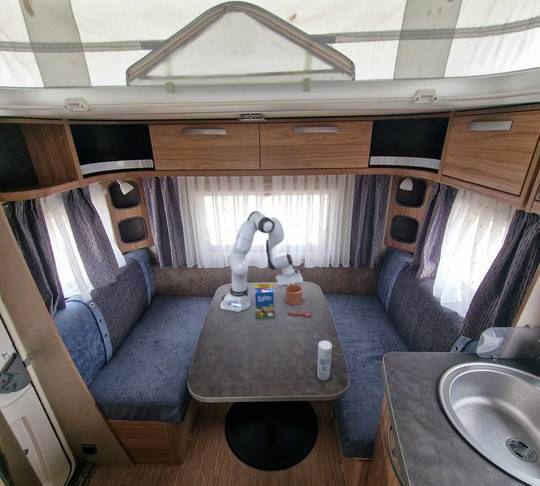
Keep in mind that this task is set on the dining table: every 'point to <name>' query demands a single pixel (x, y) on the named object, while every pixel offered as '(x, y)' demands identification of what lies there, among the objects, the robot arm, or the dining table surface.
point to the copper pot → (293, 294)
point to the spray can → (324, 359)
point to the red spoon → (300, 314)
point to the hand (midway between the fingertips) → (291, 290)
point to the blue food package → (264, 300)
